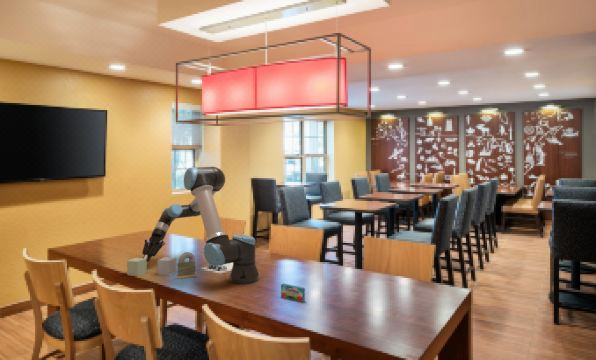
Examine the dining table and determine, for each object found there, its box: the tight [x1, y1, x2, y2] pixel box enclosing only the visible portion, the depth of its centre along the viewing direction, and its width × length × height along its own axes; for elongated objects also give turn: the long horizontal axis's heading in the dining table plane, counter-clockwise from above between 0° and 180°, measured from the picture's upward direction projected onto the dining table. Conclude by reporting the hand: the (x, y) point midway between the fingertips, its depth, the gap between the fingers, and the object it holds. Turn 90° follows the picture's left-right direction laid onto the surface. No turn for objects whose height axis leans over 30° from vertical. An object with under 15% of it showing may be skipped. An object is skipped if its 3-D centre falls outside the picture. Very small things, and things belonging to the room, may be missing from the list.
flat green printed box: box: [280, 283, 306, 303], centre depth 186 cm, size 12×2×6 cm, turn 57°
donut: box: [178, 251, 196, 263], centre depth 234 cm, size 10×4×10 cm, turn 134°
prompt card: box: [176, 260, 198, 280], centre depth 220 cm, size 4×10×8 cm, turn 109°
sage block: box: [126, 257, 148, 277], centre depth 225 cm, size 7×7×8 cm
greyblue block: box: [157, 256, 177, 276], centre depth 227 cm, size 7×7×8 cm
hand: (142, 266), depth 230 cm, fingers closed
